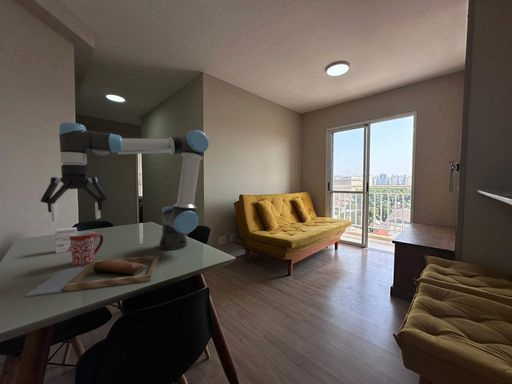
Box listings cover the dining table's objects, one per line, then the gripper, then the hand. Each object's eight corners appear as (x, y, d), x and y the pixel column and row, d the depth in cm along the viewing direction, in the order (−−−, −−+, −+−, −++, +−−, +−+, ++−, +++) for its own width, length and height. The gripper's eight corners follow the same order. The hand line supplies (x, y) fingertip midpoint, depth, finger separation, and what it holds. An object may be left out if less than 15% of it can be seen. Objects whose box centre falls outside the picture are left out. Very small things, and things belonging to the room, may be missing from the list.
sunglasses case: (147, 264, 87) (140, 255, 83) (138, 280, 82) (130, 272, 78) (110, 261, 90) (102, 253, 86) (99, 276, 85) (89, 268, 80)
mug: (75, 268, 86) (74, 236, 86) (65, 264, 91) (65, 234, 90) (108, 258, 98) (107, 231, 97) (98, 255, 102) (98, 229, 101)
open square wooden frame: (159, 259, 98) (159, 255, 98) (150, 280, 76) (150, 275, 76) (94, 265, 90) (94, 261, 90) (63, 291, 68) (63, 285, 68)
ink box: (77, 247, 114) (76, 226, 114) (77, 249, 111) (77, 228, 110) (55, 251, 108) (55, 229, 108) (55, 253, 105) (54, 230, 104)
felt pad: (89, 268, 86) (89, 267, 86) (61, 292, 67) (61, 290, 67) (62, 271, 83) (62, 269, 83) (25, 296, 64) (25, 295, 64)
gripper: (115, 166, 86) (117, 216, 87) (39, 164, 78) (42, 220, 79) (109, 164, 79) (111, 219, 80) (24, 163, 71) (28, 223, 72)
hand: (77, 219), depth 79 cm, fingers open, 13 cm apart
